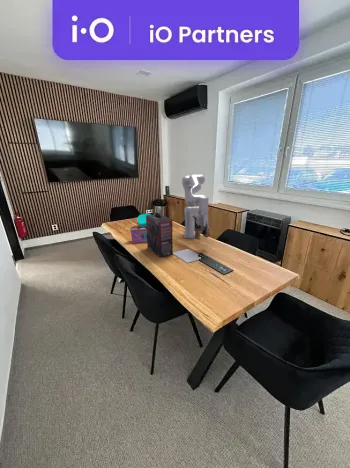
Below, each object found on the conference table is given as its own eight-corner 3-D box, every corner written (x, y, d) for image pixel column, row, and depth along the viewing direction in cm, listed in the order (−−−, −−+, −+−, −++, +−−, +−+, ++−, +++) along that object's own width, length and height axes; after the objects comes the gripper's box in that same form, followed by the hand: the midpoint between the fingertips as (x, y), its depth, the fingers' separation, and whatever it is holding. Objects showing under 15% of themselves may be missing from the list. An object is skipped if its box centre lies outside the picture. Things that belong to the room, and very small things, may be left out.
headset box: (146, 247, 180) (145, 210, 169) (159, 244, 186) (158, 209, 175) (159, 258, 160) (159, 217, 149) (173, 254, 166) (173, 215, 156)
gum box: (130, 243, 189) (130, 229, 184) (130, 240, 196) (129, 227, 192) (156, 241, 194) (156, 227, 190) (155, 238, 202) (154, 225, 197)
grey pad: (172, 253, 168) (172, 252, 168) (187, 249, 176) (187, 248, 176) (187, 263, 151) (187, 262, 151) (203, 258, 160) (203, 257, 160)
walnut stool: (194, 238, 172) (194, 229, 169) (204, 235, 177) (204, 226, 175) (198, 240, 167) (199, 230, 164) (208, 237, 173) (209, 228, 170)
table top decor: (133, 226, 242) (132, 215, 237) (154, 223, 255) (154, 212, 251) (146, 235, 209) (145, 223, 205) (169, 231, 223) (169, 220, 218)
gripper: (192, 210, 169) (191, 230, 175) (206, 214, 156) (205, 236, 162) (199, 209, 173) (198, 229, 179) (213, 213, 160) (212, 235, 166)
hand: (201, 232), depth 171 cm, fingers closed on walnut stool, 5 cm apart
